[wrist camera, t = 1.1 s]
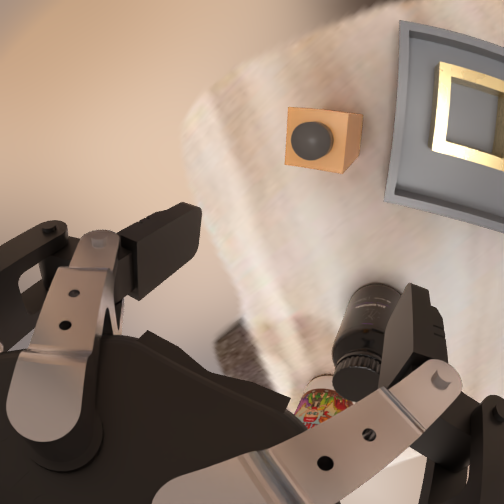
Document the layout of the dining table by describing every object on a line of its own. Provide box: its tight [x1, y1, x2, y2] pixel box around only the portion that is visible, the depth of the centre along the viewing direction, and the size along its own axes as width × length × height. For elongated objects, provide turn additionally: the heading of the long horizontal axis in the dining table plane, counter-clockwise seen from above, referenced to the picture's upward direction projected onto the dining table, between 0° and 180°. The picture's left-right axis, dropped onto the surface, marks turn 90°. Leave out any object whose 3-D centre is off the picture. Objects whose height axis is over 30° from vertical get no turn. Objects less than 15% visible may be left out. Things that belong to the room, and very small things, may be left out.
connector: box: [285, 107, 363, 174], centre depth 23 cm, size 4×4×12 cm
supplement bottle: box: [332, 284, 401, 403], centre depth 28 cm, size 7×7×12 cm
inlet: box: [428, 62, 504, 172], centre depth 19 cm, size 7×7×4 cm
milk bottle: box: [294, 376, 356, 430], centre depth 33 cm, size 8×8×20 cm
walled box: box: [384, 20, 504, 233], centre depth 20 cm, size 18×16×4 cm
